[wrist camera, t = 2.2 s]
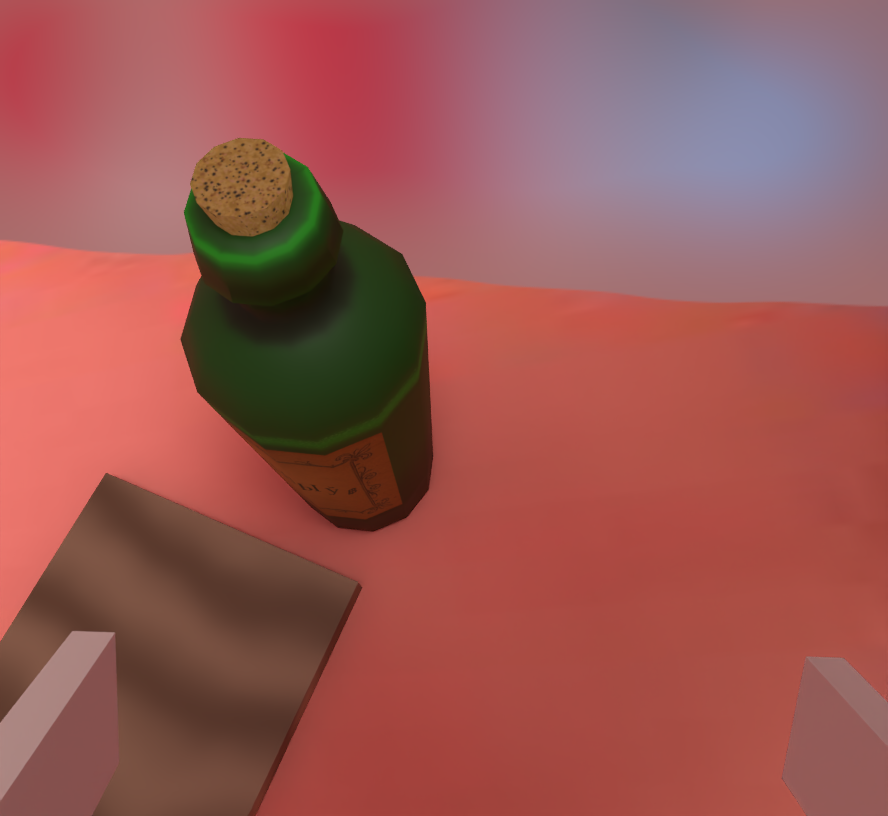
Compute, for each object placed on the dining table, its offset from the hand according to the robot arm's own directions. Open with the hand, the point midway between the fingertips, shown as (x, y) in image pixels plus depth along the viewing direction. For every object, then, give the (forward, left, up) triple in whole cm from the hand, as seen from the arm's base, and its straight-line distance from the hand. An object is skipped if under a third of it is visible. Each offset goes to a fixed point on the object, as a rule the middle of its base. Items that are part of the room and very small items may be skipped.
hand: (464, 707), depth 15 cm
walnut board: (+4, -19, -32) cm, 37 cm away
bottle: (-12, -13, -32) cm, 37 cm away
